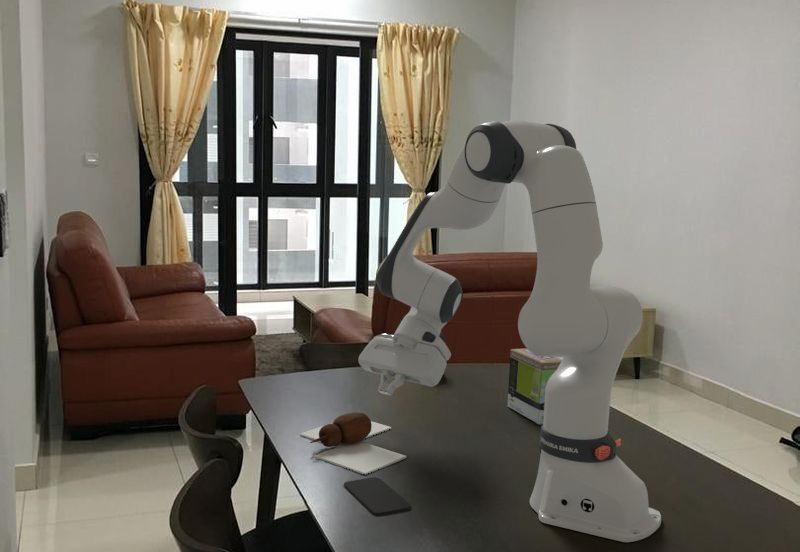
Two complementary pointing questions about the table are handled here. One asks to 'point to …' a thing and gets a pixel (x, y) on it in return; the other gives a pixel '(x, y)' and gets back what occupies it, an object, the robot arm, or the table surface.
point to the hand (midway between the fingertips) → (384, 392)
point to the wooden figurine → (345, 430)
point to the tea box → (529, 382)
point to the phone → (377, 496)
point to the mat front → (314, 435)
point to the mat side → (360, 457)
